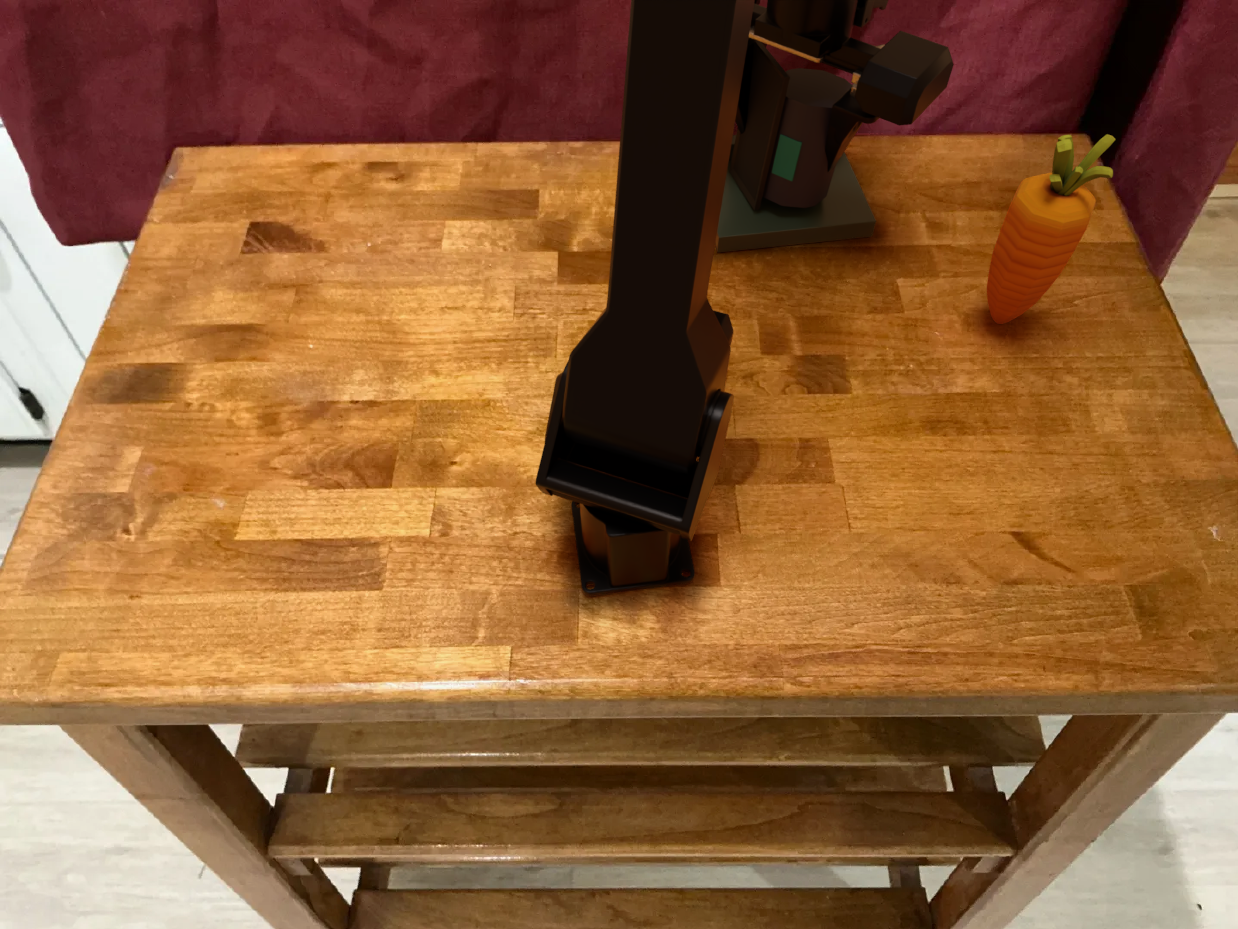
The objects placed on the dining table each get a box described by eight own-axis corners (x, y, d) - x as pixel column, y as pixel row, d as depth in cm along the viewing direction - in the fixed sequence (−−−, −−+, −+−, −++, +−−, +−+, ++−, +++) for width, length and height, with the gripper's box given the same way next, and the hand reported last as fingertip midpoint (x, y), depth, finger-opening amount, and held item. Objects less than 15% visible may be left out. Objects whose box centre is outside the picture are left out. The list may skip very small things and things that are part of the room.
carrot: (1028, 299, 65) (1121, 111, 52) (1040, 350, 62) (1141, 164, 50) (957, 295, 65) (1033, 106, 53) (966, 346, 62) (1048, 159, 50)
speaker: (730, 213, 68) (751, 78, 60) (728, 171, 71) (748, 39, 63) (831, 221, 67) (866, 87, 60) (825, 178, 71) (857, 46, 63)
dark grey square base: (872, 236, 69) (881, 204, 66) (717, 252, 68) (720, 220, 66) (836, 156, 75) (843, 124, 72) (692, 170, 74) (695, 138, 71)
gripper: (1025, -80, 55) (951, 143, 68) (763, -155, 62) (740, 61, 74) (944, -4, 50) (880, 222, 63) (668, -94, 57) (661, 127, 69)
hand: (787, 151), depth 67 cm, fingers closed on speaker, 7 cm apart
